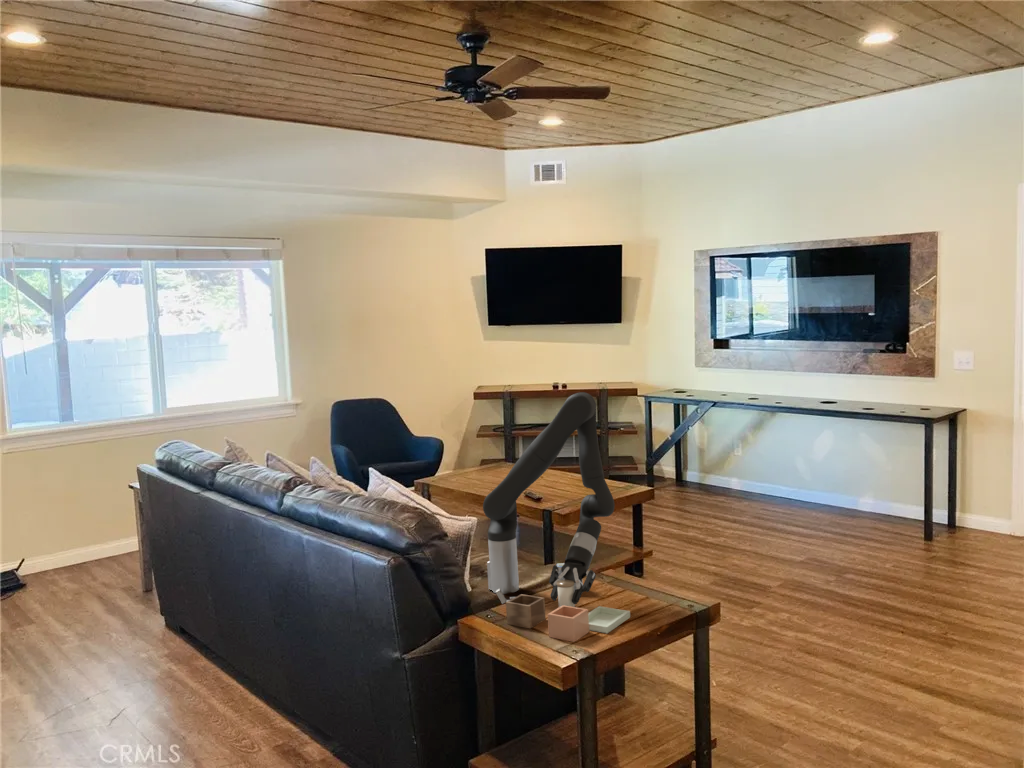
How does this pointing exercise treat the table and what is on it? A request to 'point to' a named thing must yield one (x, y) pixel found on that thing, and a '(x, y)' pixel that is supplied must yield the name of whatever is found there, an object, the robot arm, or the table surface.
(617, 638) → the table surface
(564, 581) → the cream canister
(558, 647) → the table surface
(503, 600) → the lighter
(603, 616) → the sage tray
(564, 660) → the table surface
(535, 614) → the brown open square box
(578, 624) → the pink square bin
